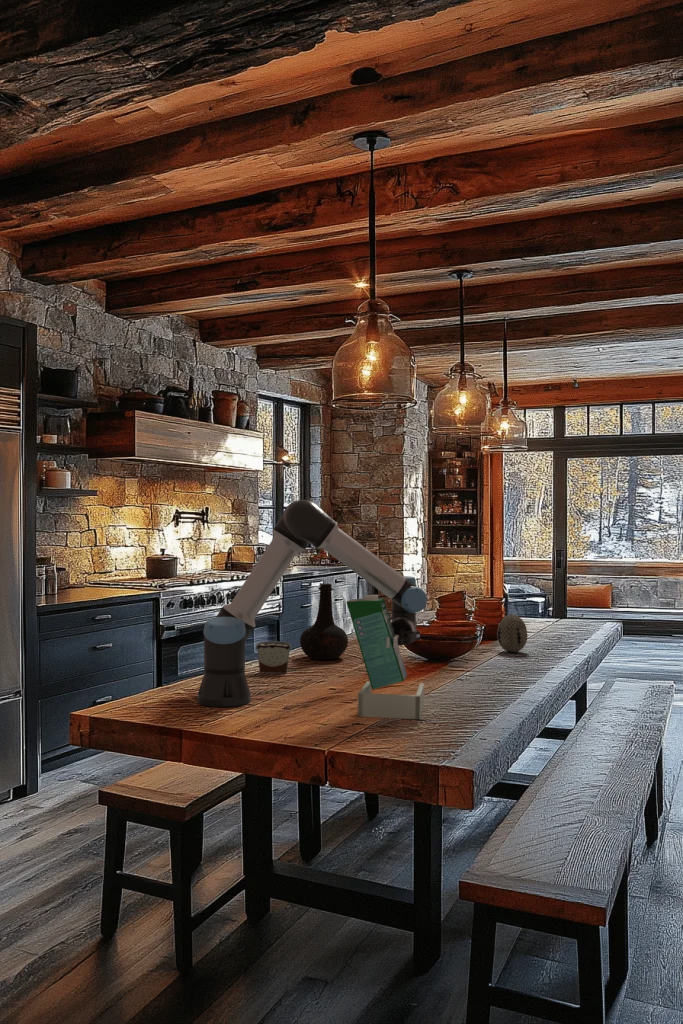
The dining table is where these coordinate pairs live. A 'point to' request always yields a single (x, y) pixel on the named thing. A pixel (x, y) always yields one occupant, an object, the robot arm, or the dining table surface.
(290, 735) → the dining table surface
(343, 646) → the glass bottle
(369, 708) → the box
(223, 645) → the robot arm
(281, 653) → the food container
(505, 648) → the decorative egg
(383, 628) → the milk carton
